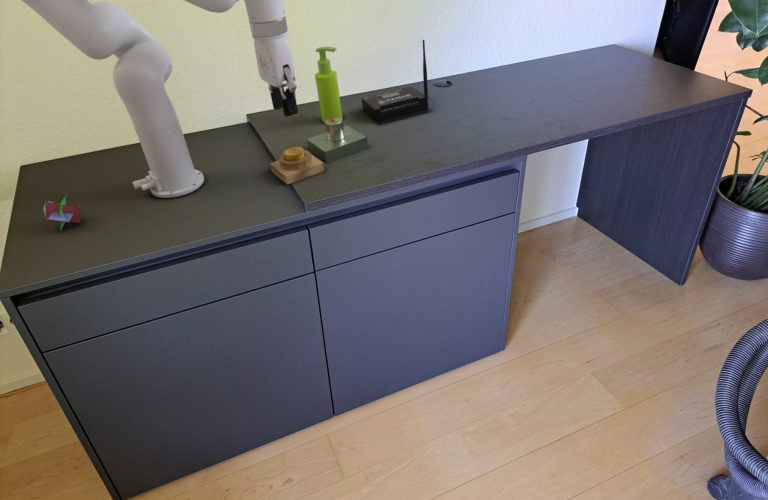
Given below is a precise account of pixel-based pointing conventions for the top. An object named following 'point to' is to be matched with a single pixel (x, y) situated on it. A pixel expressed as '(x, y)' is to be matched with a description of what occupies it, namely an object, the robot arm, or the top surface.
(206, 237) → the top surface
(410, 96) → the wireless controller
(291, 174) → the button housing
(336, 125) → the dial
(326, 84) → the soap dispenser
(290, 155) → the round yellow button
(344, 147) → the dial panel
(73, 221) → the geometric puzzle
